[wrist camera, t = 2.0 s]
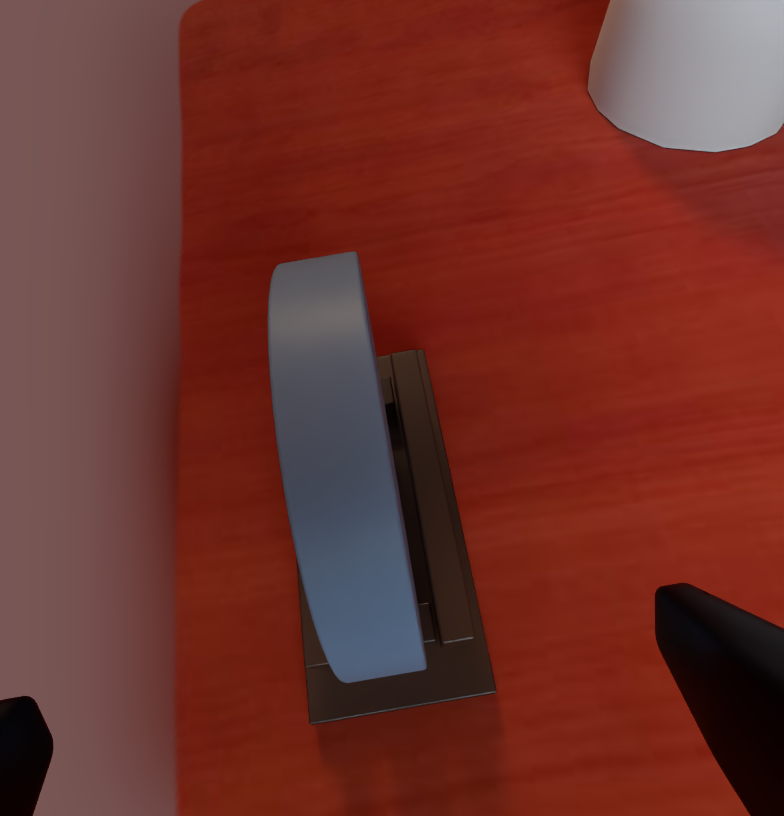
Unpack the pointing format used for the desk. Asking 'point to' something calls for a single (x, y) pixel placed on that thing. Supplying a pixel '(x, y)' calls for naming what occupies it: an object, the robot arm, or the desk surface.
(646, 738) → the desk surface
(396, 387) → the rack
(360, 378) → the disc
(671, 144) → the teardrop
